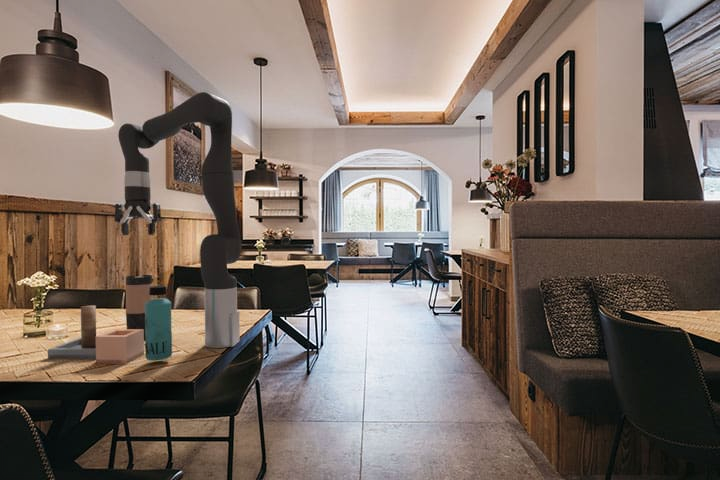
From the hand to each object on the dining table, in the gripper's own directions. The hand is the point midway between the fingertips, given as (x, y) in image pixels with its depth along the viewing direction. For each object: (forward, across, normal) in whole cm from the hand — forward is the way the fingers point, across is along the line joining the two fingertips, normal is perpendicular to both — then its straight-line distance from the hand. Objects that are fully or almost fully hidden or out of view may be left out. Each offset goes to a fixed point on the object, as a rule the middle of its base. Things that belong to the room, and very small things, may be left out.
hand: (138, 235), depth 133 cm
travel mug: (+33, -3, +5) cm, 34 cm away
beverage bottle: (+33, -22, +29) cm, 49 cm away
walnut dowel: (+32, +3, +20) cm, 38 cm away
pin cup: (+33, -10, +26) cm, 43 cm away
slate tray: (+33, +3, +20) cm, 39 cm away
